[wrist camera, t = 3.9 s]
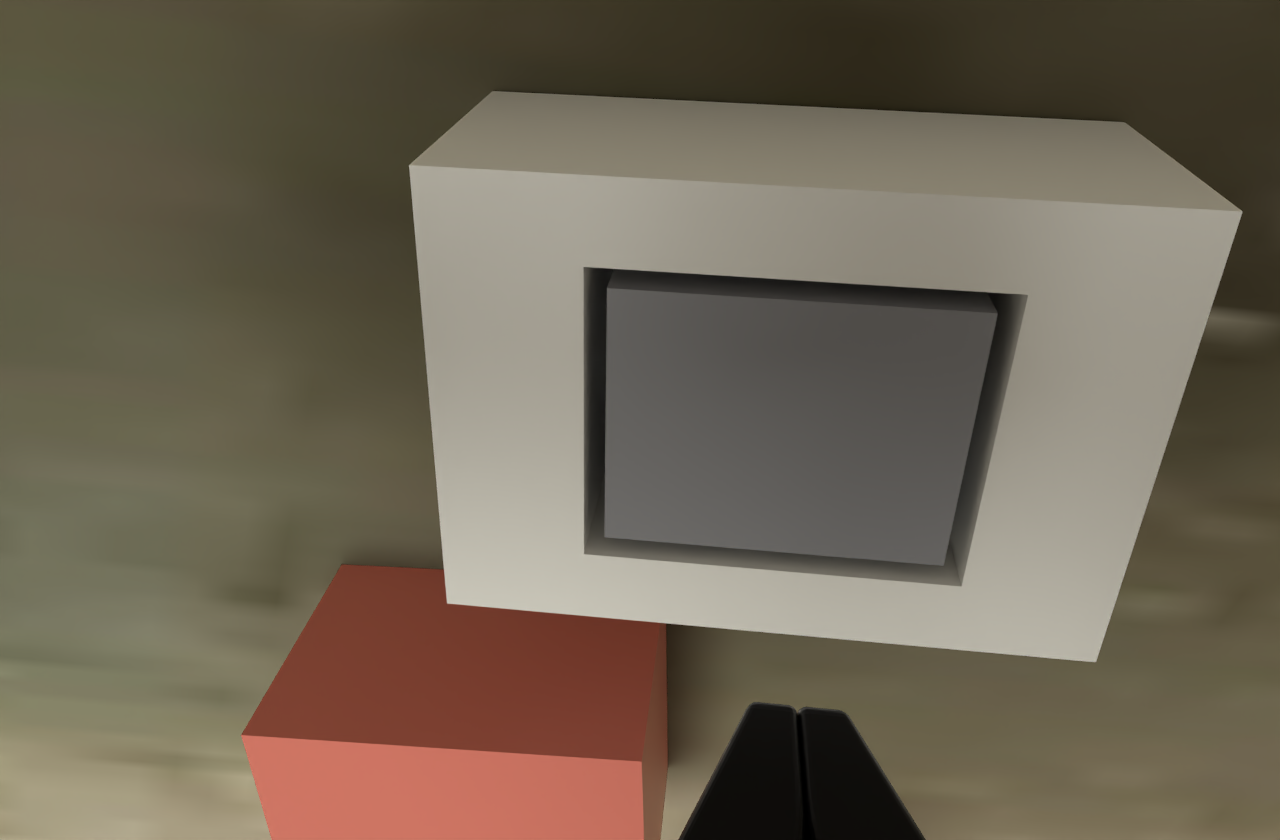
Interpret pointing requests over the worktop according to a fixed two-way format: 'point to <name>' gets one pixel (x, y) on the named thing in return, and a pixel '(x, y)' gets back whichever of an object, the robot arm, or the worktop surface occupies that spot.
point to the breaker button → (790, 413)
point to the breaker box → (823, 252)
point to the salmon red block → (460, 720)
